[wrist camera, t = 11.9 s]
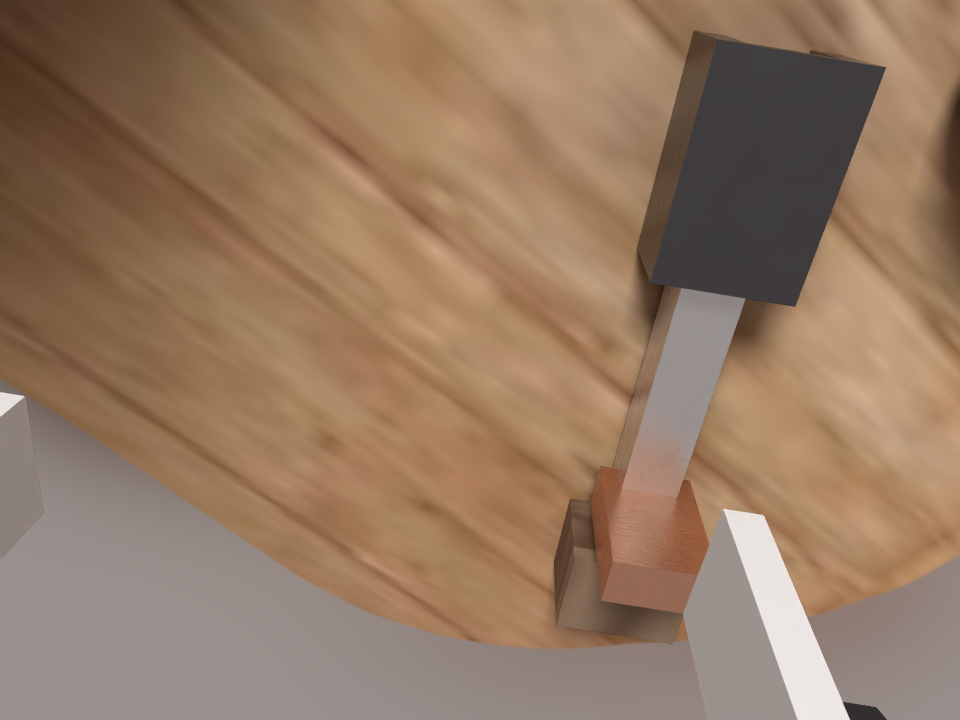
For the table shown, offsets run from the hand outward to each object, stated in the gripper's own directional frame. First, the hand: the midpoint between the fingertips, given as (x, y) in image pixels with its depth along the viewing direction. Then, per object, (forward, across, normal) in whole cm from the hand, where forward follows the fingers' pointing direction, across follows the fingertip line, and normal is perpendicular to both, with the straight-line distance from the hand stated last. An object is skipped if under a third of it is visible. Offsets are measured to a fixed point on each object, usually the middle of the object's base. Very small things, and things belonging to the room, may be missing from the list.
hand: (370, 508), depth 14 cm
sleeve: (+32, +14, +2) cm, 35 cm away
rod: (+32, +14, -12) cm, 37 cm away
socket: (+32, +14, -26) cm, 43 cm away
